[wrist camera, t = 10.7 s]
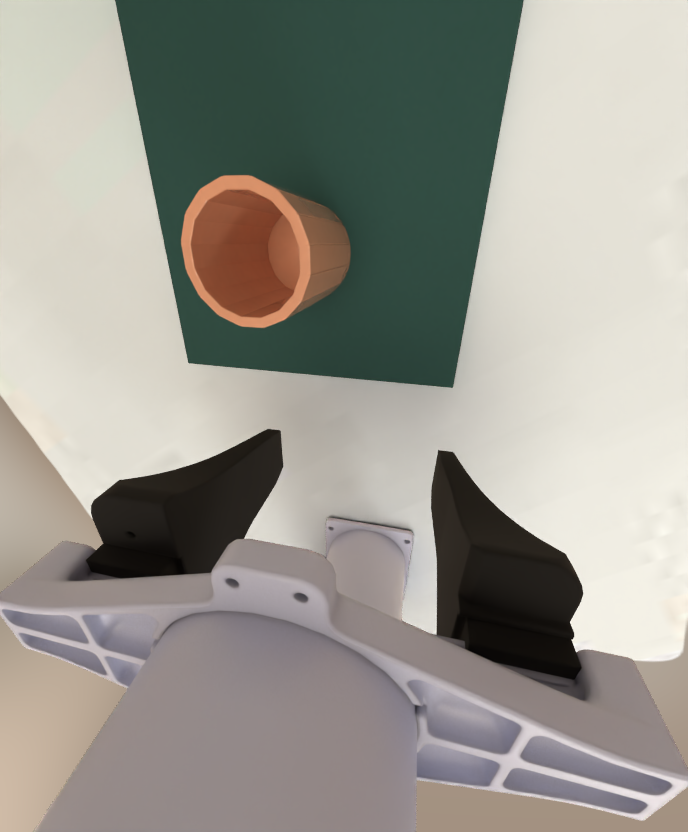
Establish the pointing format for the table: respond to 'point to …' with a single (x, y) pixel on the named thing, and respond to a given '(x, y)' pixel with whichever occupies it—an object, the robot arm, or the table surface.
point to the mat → (333, 160)
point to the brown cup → (261, 250)
